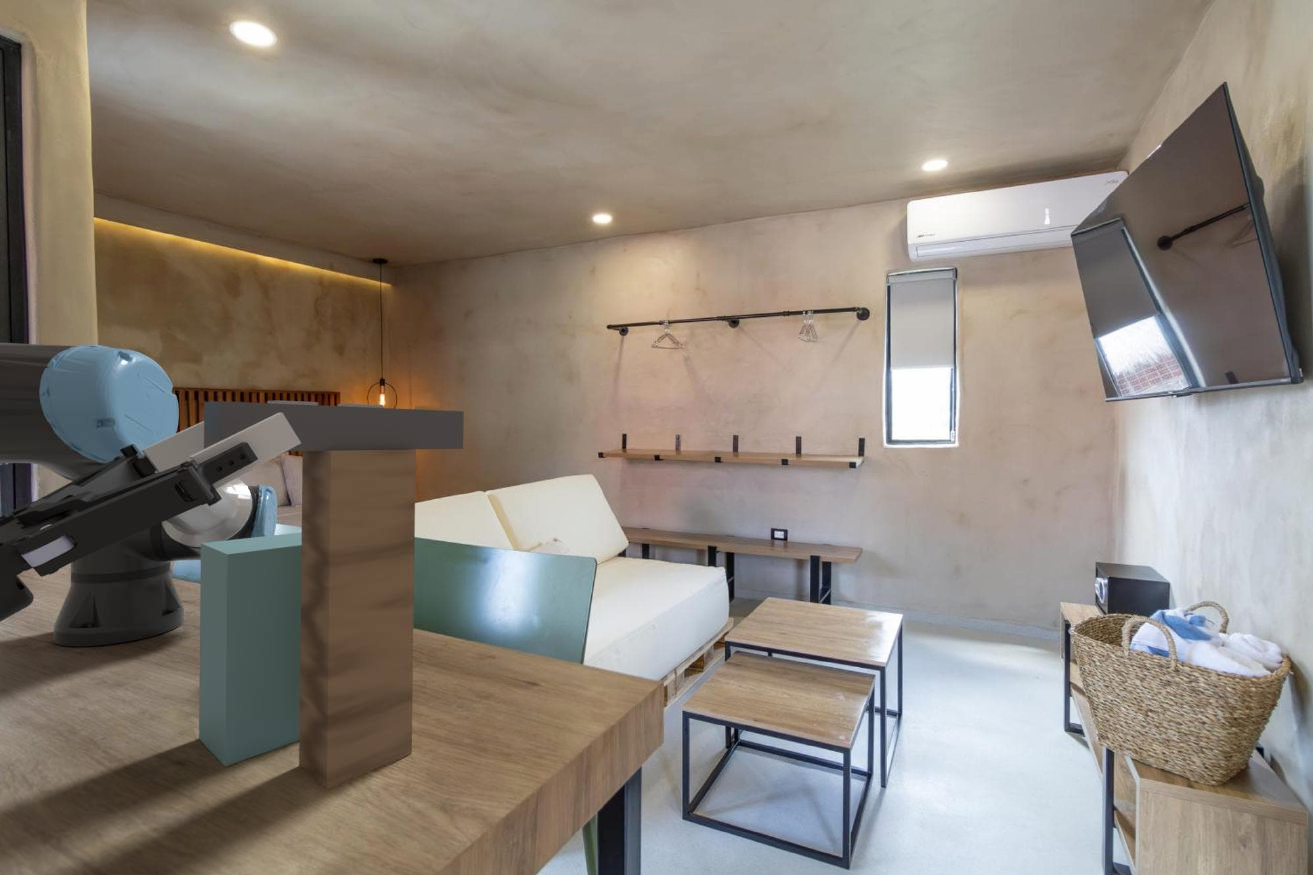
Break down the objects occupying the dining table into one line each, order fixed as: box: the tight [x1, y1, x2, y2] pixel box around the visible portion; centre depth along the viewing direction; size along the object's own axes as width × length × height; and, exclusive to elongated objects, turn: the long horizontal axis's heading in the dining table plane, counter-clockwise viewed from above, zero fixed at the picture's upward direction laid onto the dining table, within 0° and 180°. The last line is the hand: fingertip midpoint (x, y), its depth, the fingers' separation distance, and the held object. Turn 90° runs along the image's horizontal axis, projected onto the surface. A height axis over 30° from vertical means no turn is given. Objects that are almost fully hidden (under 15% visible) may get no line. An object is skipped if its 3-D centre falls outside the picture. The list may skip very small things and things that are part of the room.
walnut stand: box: [298, 449, 417, 790], centre depth 59 cm, size 6×8×30 cm
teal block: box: [198, 531, 302, 767], centre depth 64 cm, size 8×10×20 cm
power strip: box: [203, 400, 465, 452], centre depth 58 cm, size 4×22×4 cm, turn 141°
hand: (258, 426), depth 52 cm, fingers open, 13 cm apart
